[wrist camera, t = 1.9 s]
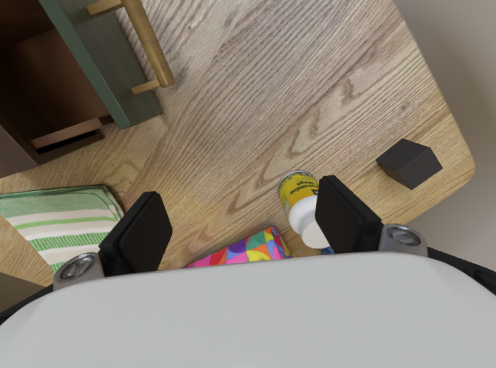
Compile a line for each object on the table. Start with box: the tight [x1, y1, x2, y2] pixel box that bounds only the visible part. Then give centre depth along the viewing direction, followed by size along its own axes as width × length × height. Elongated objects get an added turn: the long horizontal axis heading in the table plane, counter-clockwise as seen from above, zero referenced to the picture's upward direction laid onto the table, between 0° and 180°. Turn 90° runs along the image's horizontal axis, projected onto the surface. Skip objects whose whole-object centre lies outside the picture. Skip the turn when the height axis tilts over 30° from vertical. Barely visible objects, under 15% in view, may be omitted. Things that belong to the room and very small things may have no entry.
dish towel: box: [0, 185, 124, 273], centre depth 32 cm, size 18×23×3 cm
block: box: [376, 139, 443, 190], centre depth 27 cm, size 4×4×4 cm
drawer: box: [0, 0, 176, 150], centre depth 17 cm, size 18×11×8 cm, turn 106°
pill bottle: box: [278, 171, 330, 249], centre depth 25 cm, size 6×6×11 cm
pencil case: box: [181, 225, 293, 269], centre depth 33 cm, size 22×9×9 cm, turn 121°
